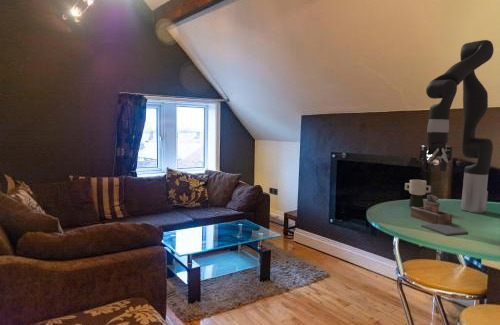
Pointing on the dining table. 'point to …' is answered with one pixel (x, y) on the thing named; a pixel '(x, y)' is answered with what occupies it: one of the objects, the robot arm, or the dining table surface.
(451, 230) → the mat
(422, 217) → the holder
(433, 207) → the lighter
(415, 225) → the dining table surface
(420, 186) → the character mug
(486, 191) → the robot arm
